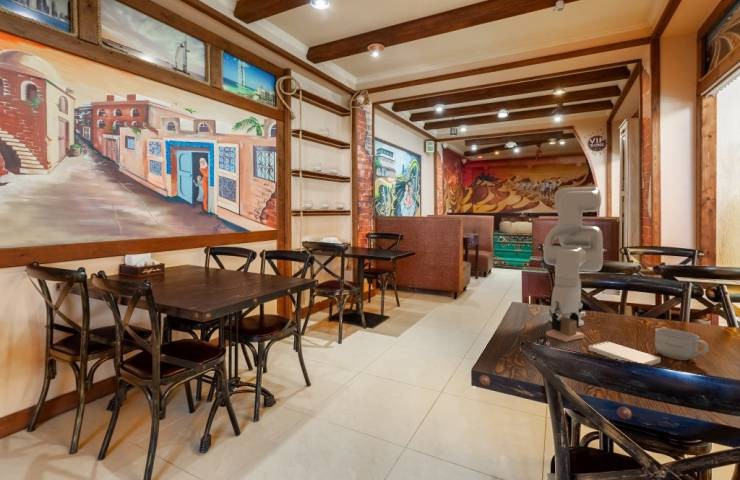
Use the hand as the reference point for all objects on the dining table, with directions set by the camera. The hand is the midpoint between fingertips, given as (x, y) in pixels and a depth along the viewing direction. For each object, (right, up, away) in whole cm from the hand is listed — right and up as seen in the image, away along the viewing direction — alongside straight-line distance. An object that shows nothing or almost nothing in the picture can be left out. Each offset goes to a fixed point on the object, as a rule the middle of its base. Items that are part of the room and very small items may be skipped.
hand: (565, 328), depth 134 cm
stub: (0, -3, 0) cm, 3 cm away
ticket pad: (+9, -5, -18) cm, 21 cm away
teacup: (+25, -5, -20) cm, 33 cm away
